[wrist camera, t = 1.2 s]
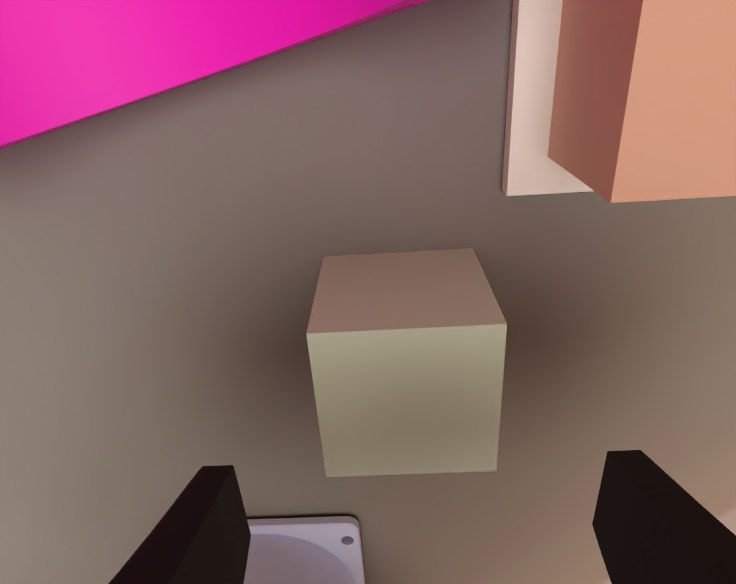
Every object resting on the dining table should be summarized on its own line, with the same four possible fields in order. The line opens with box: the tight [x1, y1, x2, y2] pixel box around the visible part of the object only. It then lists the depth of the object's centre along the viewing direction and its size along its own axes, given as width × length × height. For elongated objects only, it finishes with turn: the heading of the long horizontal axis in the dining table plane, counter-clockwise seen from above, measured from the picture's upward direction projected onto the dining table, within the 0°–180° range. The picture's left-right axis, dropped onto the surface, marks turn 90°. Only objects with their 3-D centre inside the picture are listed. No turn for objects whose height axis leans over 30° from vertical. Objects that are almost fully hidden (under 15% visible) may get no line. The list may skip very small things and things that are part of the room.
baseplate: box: [502, 0, 594, 196], centre depth 12 cm, size 8×8×1 cm
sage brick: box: [306, 248, 507, 477], centre depth 14 cm, size 4×4×4 cm
